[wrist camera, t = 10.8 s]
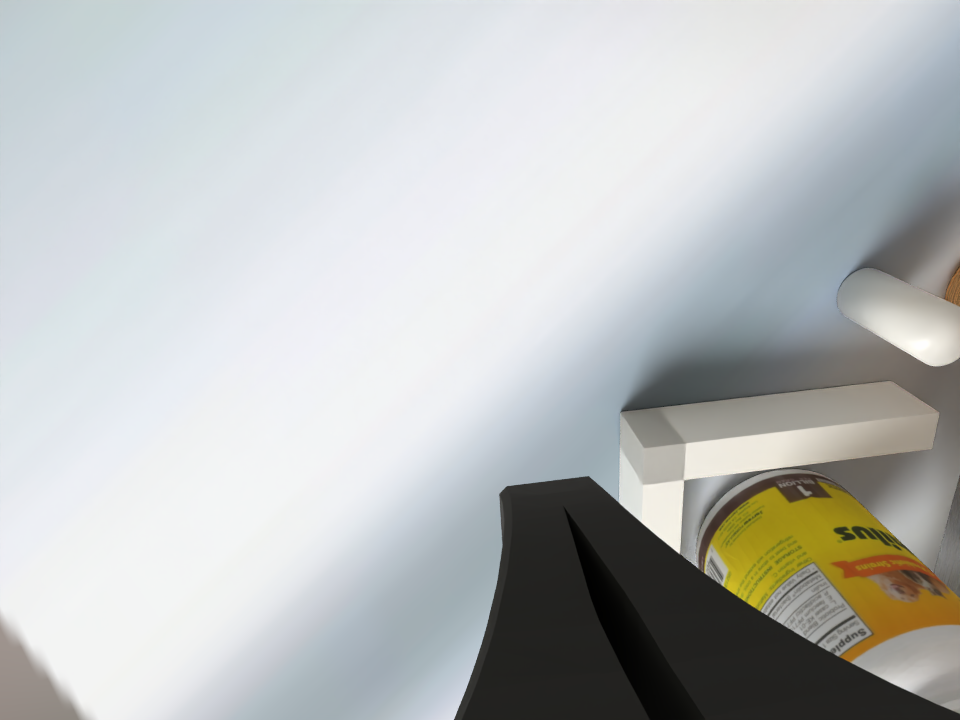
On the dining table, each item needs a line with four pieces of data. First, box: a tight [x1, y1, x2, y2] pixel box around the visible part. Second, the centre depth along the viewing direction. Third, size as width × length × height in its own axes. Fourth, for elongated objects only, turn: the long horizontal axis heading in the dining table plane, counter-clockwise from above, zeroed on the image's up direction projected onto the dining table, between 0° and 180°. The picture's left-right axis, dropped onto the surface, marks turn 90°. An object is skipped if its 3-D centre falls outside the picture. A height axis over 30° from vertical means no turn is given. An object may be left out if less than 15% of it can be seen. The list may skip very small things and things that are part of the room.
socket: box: [619, 381, 940, 554], centre depth 24 cm, size 10×9×2 cm
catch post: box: [837, 268, 960, 366], centre depth 20 cm, size 2×2×4 cm
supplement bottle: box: [696, 469, 960, 714], centre depth 20 cm, size 6×6×10 cm
